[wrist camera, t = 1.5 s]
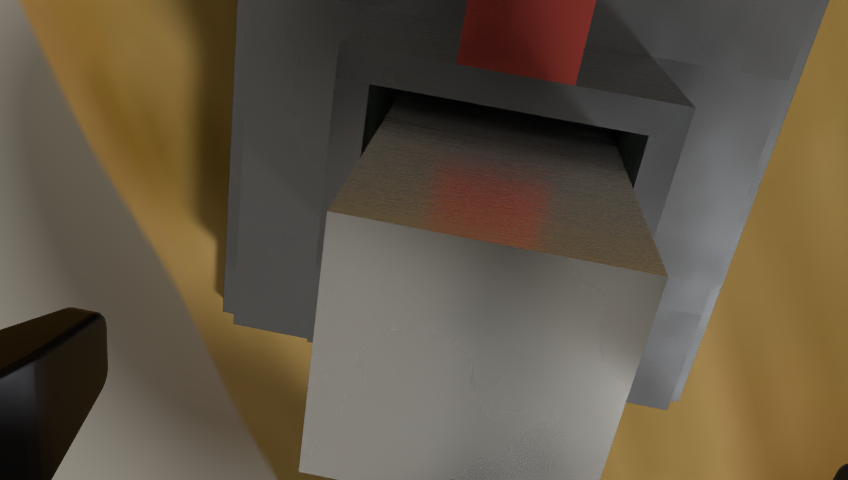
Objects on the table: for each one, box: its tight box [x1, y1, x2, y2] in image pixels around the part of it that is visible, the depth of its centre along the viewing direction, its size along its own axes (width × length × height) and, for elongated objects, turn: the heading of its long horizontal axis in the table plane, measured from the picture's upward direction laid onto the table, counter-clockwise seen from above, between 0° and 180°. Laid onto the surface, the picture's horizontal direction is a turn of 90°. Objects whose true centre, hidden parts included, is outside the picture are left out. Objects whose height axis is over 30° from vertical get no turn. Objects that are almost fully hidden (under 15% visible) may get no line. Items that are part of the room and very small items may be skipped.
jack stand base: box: [223, 0, 829, 410], centre depth 17 cm, size 14×14×7 cm
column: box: [299, 90, 668, 480], centre depth 14 cm, size 4×4×11 cm
